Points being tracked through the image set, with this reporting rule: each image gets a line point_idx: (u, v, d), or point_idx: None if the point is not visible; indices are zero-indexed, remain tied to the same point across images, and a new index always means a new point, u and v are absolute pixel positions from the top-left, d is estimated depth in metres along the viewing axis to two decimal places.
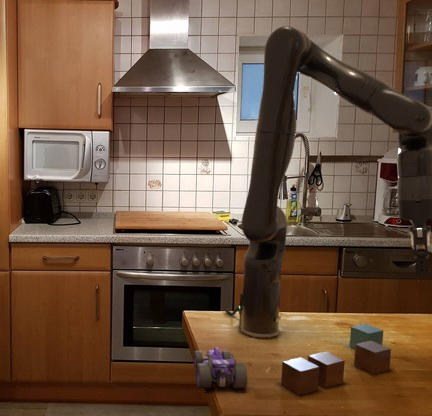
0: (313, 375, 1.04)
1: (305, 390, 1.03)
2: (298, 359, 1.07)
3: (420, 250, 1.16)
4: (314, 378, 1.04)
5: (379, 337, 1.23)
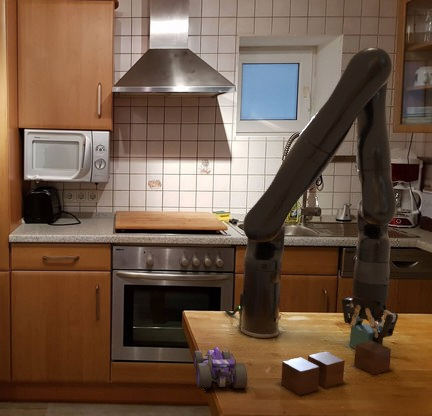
0: (313, 375, 1.04)
1: (305, 390, 1.03)
2: (298, 359, 1.07)
3: None
4: (314, 378, 1.04)
5: None
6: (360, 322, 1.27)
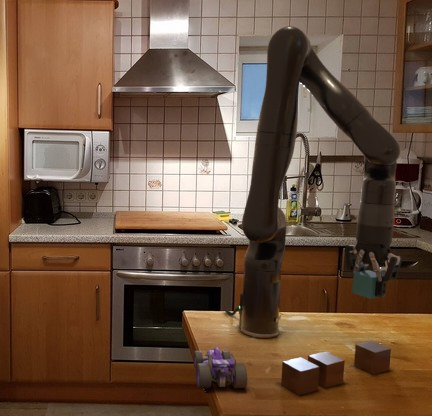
0: (313, 375, 1.04)
1: (305, 390, 1.03)
2: (298, 359, 1.07)
3: None
4: (314, 378, 1.04)
5: None
6: (363, 268, 1.25)
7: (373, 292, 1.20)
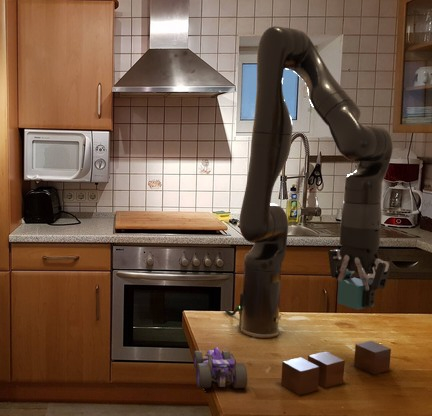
0: (313, 375, 1.04)
1: (305, 390, 1.03)
2: (298, 359, 1.07)
3: None
4: (314, 378, 1.04)
5: None
6: (349, 276, 1.12)
7: (360, 302, 1.07)
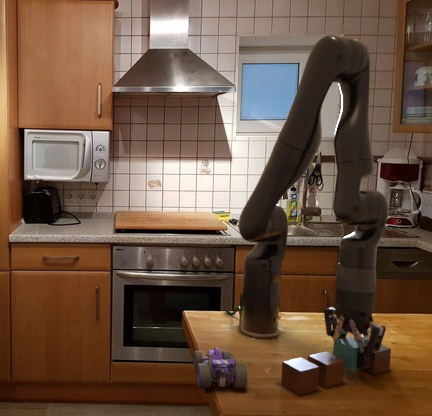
0: (313, 375, 1.04)
1: (305, 390, 1.03)
2: (298, 359, 1.07)
3: None
4: (314, 378, 1.04)
5: None
6: (344, 335, 1.13)
7: (355, 364, 1.08)
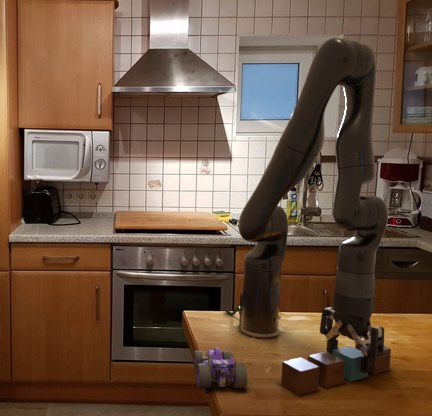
0: (313, 375, 1.04)
1: (305, 390, 1.03)
2: (298, 359, 1.07)
3: (333, 340, 1.15)
4: (314, 378, 1.04)
5: None
6: (337, 335, 1.15)
7: (354, 374, 1.09)
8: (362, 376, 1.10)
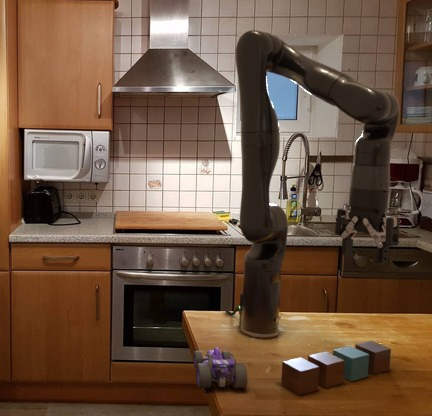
0: (313, 375, 1.04)
1: (305, 390, 1.03)
2: (298, 359, 1.07)
3: (348, 239, 1.17)
4: (314, 378, 1.04)
5: (364, 362, 1.10)
6: (352, 234, 1.17)
7: (354, 374, 1.09)
8: (362, 376, 1.10)
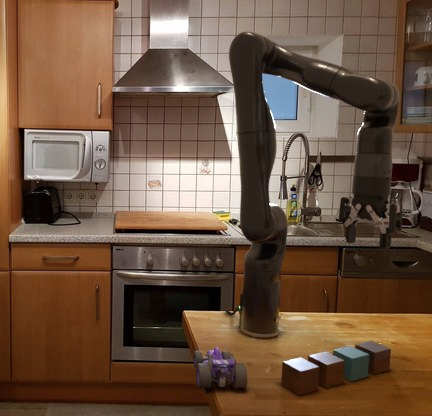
0: (313, 375, 1.04)
1: (305, 390, 1.03)
2: (298, 359, 1.07)
3: (352, 226, 1.20)
4: (314, 378, 1.04)
5: (364, 362, 1.10)
6: (356, 221, 1.20)
7: (354, 374, 1.09)
8: (362, 376, 1.10)
